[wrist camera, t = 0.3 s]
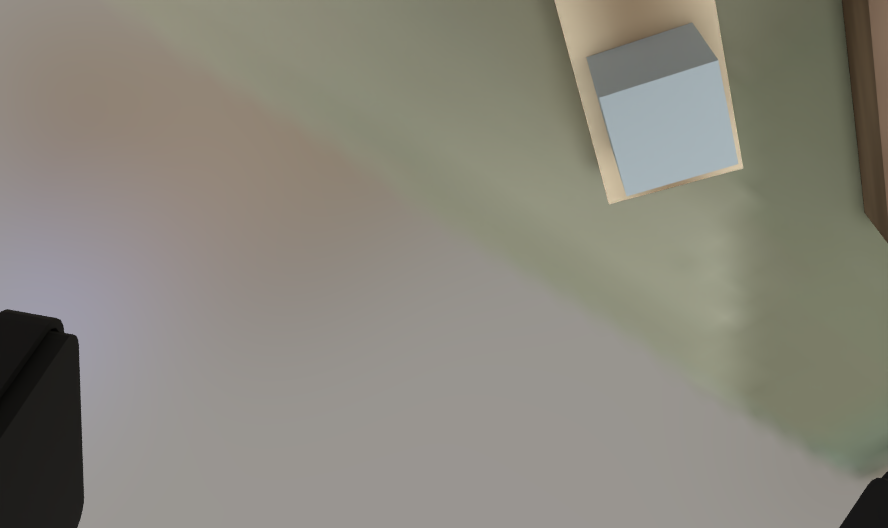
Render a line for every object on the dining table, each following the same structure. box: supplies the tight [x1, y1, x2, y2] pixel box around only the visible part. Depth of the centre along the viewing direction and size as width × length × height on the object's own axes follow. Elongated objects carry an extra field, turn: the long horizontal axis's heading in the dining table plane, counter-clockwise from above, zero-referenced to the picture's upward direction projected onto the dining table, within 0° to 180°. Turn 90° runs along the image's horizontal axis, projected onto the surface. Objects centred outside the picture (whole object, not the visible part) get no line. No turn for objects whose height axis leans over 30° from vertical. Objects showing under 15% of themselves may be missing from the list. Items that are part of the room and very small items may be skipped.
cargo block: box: [586, 23, 738, 196], centre depth 31 cm, size 4×4×4 cm
